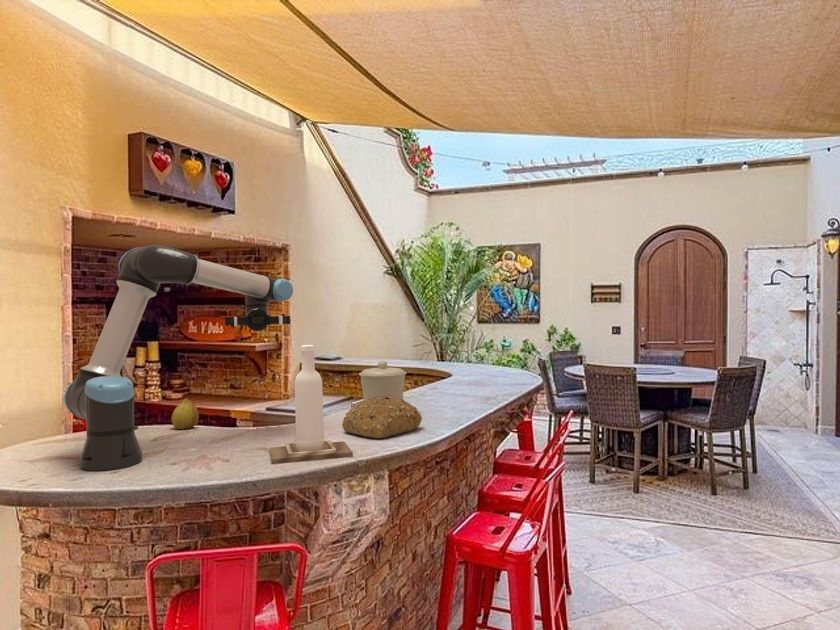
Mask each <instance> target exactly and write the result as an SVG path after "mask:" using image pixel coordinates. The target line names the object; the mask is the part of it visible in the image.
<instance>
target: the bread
mask: <svg viewBox="0 0 840 630" xmlns="http://www.w3.org/2000/svg"><path fill="white" fill-rule="evenodd" d="M422 419H423V418H422V415H421V413H420V412H419V410H418V408H417V407H416V406H414V405H412V404H411V403H410V402H408V401H405V400H404V398H403V399H399V398H398V397H393V396H382V395H379V396H375V397H371V398H368V399H366V400H364V399H363V400H361V401H359V402H357V404H356V405H353V406H352V407H351V408H350V409H349V411H347V412H346V413H345V417H343V420H342V429H343V431H344V432H345V433H348V434H352V435H358V436H363V437H366V438H370V439H385V438H389V437H392V436H396V435H399V434H405V433H408V432H412V431H414V430H416V429H417V428H418V427H419V426H420V425H421V422H422Z"/></svg>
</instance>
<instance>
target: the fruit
mask: <svg viewBox="0 0 840 630" xmlns="http://www.w3.org/2000/svg"><path fill="white" fill-rule="evenodd" d="M193 396H194V393H192V394H190V396H189V398H184V399H183V400H181V402H180V403H179V404H178V405H177V406H176V407H175V409H174V410H173V411H172V414H171V418H170V419H171V424H172V426H173V427H174V428H175V429H177V430H188V429H191V428H193V427H194V426H197V424H198V423H199V420H200V415H199V411H198V408H197V406H196V404H195V402H194V401H193V400H191V398H192V397H193Z"/></svg>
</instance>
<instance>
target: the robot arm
mask: <svg viewBox="0 0 840 630" xmlns="http://www.w3.org/2000/svg"><path fill="white" fill-rule="evenodd" d="M117 269H118V273H119V275H118V277H117V278H116V279H117V280H116V285H117V286H118V290H117V291H118V292H117V293H116V297H115V299H114V301H113V303H112V306H111V309H110V311H109V314H108V316H107V319H106V321H105V324H104V326H103V328H102V330H101V333H100V335H99V338H98V340H97V343H96V346H95V348H94V350H93V352H92V356H91V357H90V360H89V362H88V364H87V365H84V366H82V367H80V369H79V372H78V373H77V376H76V378H75V380H73V381H72V382H71V383H69V385H68V386H67V387H66V390H65V392H64V395H63V402H64V405H65V408H66V409H67V411H68V412H69V413H71V415H73V416H75V417H76V418H78V419H80V420H85V424H86V440H85V443H84V446H83V448H82V451H81V454H80V459H79V468H80V469H81V470H84V471H91V472H92V471H93V472H94V471H95V472H96V471H110V470H111V471H112V470H117V469H122V468H127V467H130V466H134V465H137V464H139V463H141V462H142V461H143V451H142V449H141V447H140V443H139V441H138V438H137V437H136V434H135V429H134V426H135V399H134V398H135V397H134V396H135V390H134V383H133V381H132V380H131V379H130V378H127V377H124V376H122V375H121V370H122V368H123V366H124V362H125V360H126V358H127V356H128V353H129V350H130V347H131V345H132V342H133V340H134V337H135V335H136V332H137V330H138V327H139V324H140V322H141V319H142V317H143V315H144V312H145V310H146V307H147V304H148V302H149V300H150V299H151V298H154V297H156V296H157V293H158V291H159V288H160V286H161V284H181V285H186V286H187V285H190V284H196V285H202V286H205V287H210V288H215V289H219V290H223V291H228V292H233V293H238V294H242V295H244V297H245V307H244V308H245V315H244V316H232V317H231V316H230V317H228V316H226V317H224V326H226V327H228V326H230V328H235V327H238V326H239V325H240V326H241V325H242V326H243V325H244V326H245V327H247V328H249V329H250V330H251V331H254V332H256V333H259V332H260V331H264V330H265V329H266V328H267V327H268V326H271V325H279V326H283V325H290V324H291V316H290V315H285V313H281V315H275V316H271V314H268V302H270V303H271V302H282V303H283V302H286V301H288V300H290V299H291V298H292V296H293V293H294V287H293V283H291V282H290V281H289V280H288V279H285V278H278V279H277V278H273V277H269V276H266V275H262V274H258V273H254V272H250V271H247V270H242V269H238V268H234V267H231V266H227V265H223V264H219V263H215V262H212V261H208V260H205V259H204V260H203V259H200V258H198V256H197V255H196V254H194V253H191V252H187V251H183V250H181V249H178V248H173V247H170V246H167V245H161V244H152V245H148V246H138V247H134V248H131V249H130V250H128V251H127V252H125V253H124V254H123V255H122V256H121V258H120V259H119V262H118V268H117Z"/></svg>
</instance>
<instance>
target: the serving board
mask: <svg viewBox="0 0 840 630" xmlns="http://www.w3.org/2000/svg"><path fill="white" fill-rule="evenodd" d="M353 454H354V453H353V451H352V449H351V448H350V447H349V446H348V444H347V442H345V441H342V440H341V441H333V442H332V441H331V439H324V449H323V450H316V451H305V452H298V451H296V441H295V442H285V443H284V445H283V446H273V447H269V456H270V457H269V458H270V461H271V465H273V464H274V465H275V464H285V463H286V464H287V463H294V462H297V463H298V462H308V461H317V460H319V461H320V460H326V459H327V460H329V459H339V458H340V459H341V458H350V457H353Z"/></svg>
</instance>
